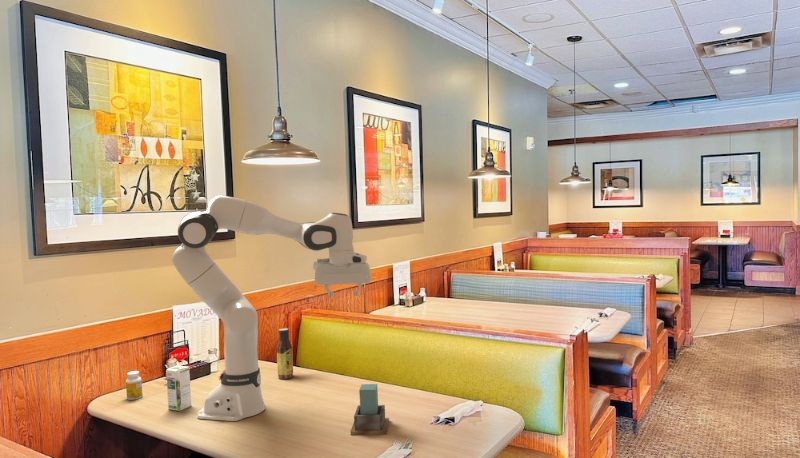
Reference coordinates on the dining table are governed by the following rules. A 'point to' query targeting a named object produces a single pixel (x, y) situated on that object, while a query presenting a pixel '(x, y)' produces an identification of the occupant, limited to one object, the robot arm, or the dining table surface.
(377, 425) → the box
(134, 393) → the supplement bottle
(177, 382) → the syrup box
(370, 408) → the teal block
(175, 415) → the dining table surface
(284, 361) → the sauce bottle
